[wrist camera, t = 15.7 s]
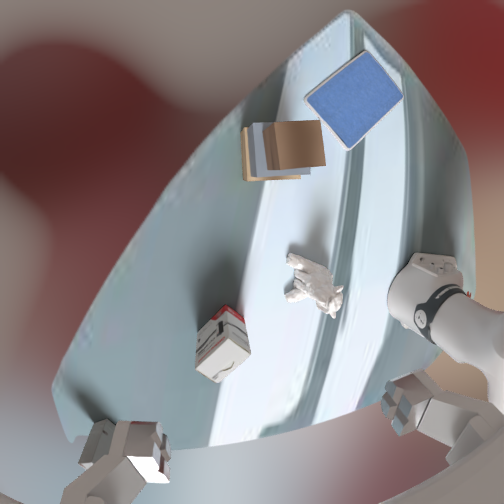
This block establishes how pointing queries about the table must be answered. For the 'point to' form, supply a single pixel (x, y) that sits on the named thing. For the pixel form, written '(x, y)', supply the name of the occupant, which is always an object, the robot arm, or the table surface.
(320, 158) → the walnut block
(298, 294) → the seated beast figurine
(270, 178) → the oak block
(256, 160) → the slate block
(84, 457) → the skincare box
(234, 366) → the ink box
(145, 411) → the table surface
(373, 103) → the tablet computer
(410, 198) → the table surface
